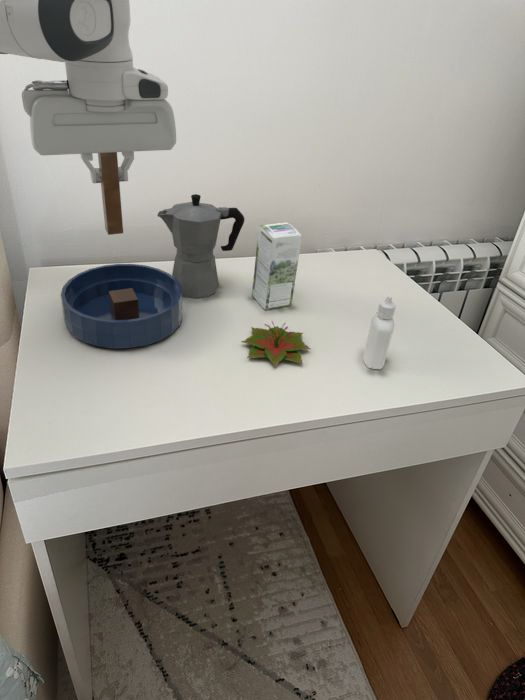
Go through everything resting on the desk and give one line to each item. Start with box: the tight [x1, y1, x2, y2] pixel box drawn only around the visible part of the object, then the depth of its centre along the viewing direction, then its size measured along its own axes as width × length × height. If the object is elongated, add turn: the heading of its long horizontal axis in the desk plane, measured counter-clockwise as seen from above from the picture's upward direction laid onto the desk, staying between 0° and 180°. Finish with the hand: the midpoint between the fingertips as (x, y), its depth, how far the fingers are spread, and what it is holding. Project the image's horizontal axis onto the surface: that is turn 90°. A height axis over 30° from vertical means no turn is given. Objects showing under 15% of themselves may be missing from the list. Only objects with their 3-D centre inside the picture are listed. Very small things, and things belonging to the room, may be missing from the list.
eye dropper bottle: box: [362, 294, 396, 370], centre depth 84 cm, size 4×6×12 cm
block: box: [109, 288, 139, 320], centre depth 90 cm, size 4×4×4 cm
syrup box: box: [251, 221, 303, 311], centre depth 96 cm, size 6×6×14 cm
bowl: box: [60, 263, 183, 349], centre depth 90 cm, size 19×19×6 cm
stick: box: [97, 152, 124, 236], centre depth 82 cm, size 2×2×14 cm
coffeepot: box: [157, 193, 245, 299], centre depth 97 cm, size 15×9×18 cm, turn 103°
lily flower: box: [241, 320, 311, 368], centre depth 86 cm, size 12×12×5 cm
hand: (110, 181), depth 81 cm, fingers closed on stick, 2 cm apart
